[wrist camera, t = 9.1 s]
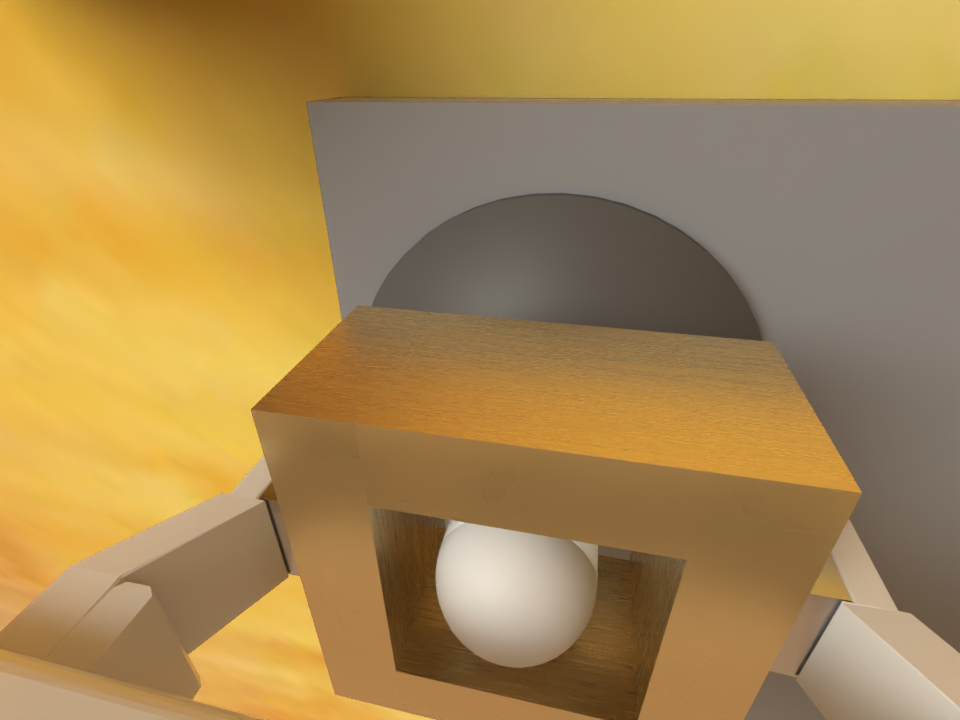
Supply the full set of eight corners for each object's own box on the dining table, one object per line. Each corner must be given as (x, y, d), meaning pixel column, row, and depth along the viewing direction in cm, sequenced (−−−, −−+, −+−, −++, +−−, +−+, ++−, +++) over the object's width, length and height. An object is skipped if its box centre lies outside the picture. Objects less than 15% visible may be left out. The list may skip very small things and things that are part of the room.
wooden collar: (773, 341, 7) (862, 493, 5) (684, 612, 10) (708, 787, 8) (358, 305, 8) (250, 409, 6) (393, 557, 12) (334, 694, 9)
